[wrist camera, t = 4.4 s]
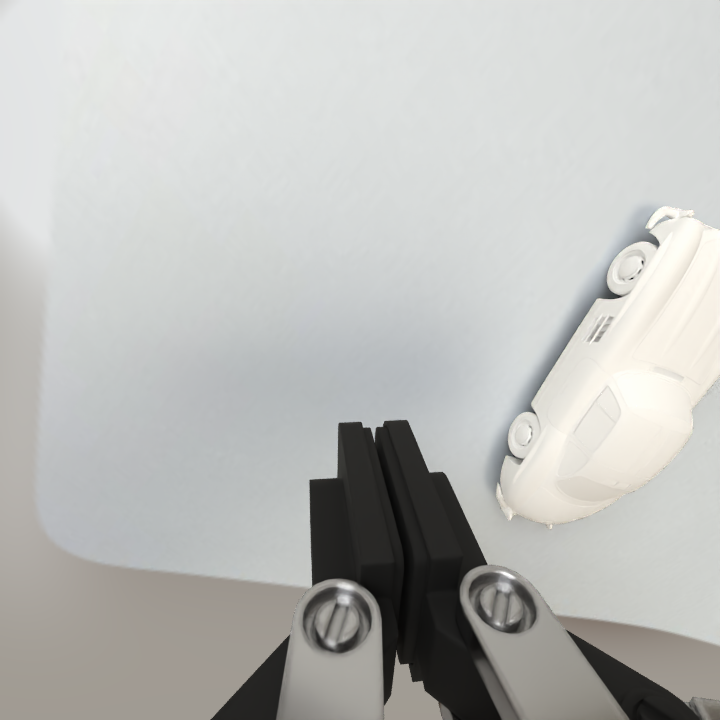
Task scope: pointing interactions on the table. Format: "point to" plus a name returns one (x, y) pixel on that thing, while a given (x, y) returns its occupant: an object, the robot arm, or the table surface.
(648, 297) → the toy car
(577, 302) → the table surface
